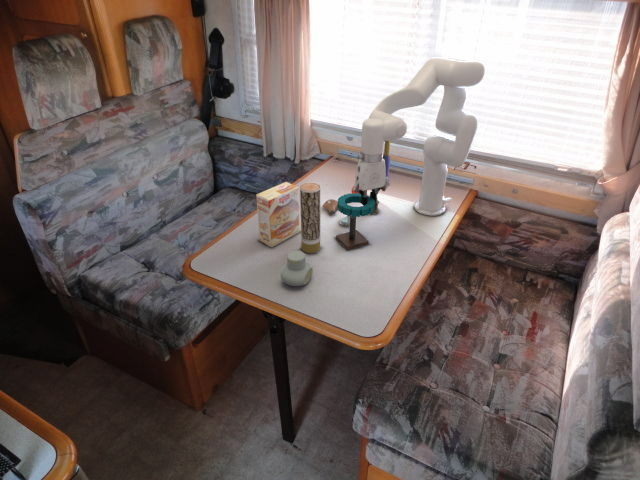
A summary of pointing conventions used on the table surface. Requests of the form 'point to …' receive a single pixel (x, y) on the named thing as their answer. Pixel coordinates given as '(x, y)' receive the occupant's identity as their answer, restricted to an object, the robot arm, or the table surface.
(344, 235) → the peg stand
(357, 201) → the ring
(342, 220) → the pacifier
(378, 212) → the kendama
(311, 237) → the patterned cylinder
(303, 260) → the air freshener
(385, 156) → the rubber mallet
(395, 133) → the robot arm
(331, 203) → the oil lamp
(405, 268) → the table surface
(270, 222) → the coffeecake box
